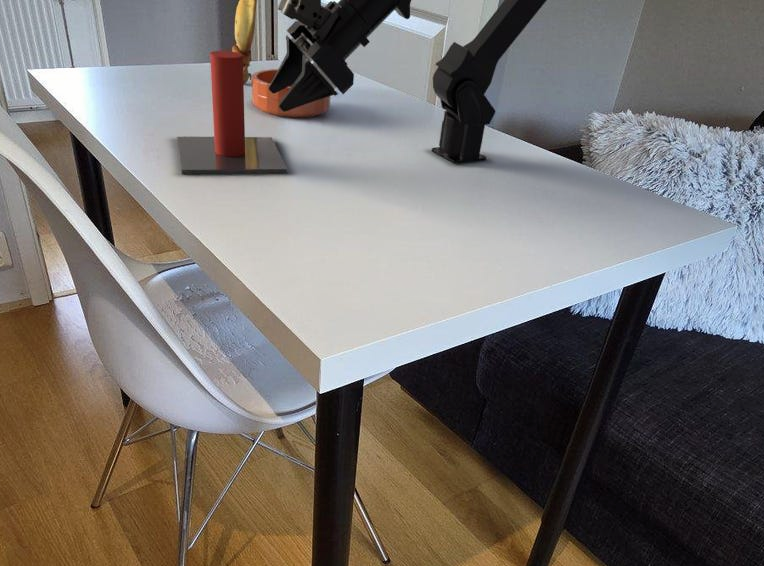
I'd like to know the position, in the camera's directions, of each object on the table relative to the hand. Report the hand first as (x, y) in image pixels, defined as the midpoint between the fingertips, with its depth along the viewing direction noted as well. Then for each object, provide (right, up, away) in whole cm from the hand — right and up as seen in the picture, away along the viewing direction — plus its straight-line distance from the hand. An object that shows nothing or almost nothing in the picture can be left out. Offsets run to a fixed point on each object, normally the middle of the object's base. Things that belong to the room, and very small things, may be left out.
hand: (275, 99), depth 92 cm
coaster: (-7, -7, +3) cm, 10 cm away
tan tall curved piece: (-12, +17, +37) cm, 42 cm away
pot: (-1, +9, +26) cm, 28 cm away
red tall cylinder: (-7, -7, +2) cm, 10 cm away
